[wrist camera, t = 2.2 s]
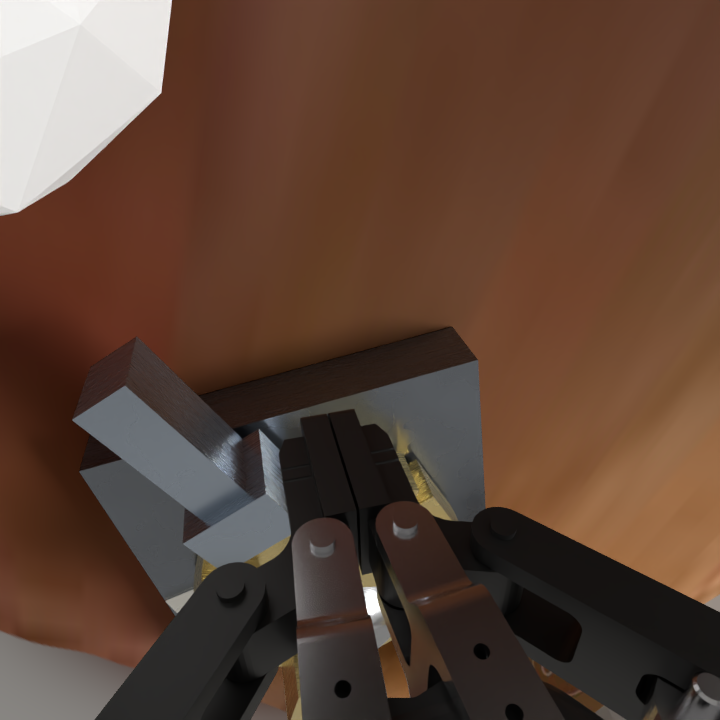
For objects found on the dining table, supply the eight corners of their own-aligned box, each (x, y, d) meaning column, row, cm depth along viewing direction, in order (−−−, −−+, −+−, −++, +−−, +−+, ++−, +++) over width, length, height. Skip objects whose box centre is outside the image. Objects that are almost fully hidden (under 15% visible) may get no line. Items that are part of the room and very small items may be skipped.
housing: (452, 326, 26) (535, 434, 19) (469, 545, 35) (529, 667, 29) (92, 424, 24) (47, 579, 17) (214, 626, 33) (214, 774, 27)
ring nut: (479, 543, 30) (524, 632, 25) (293, 648, 31) (306, 750, 27) (261, 252, 18) (276, 325, 14) (-23, 438, 19) (-90, 558, 15)
